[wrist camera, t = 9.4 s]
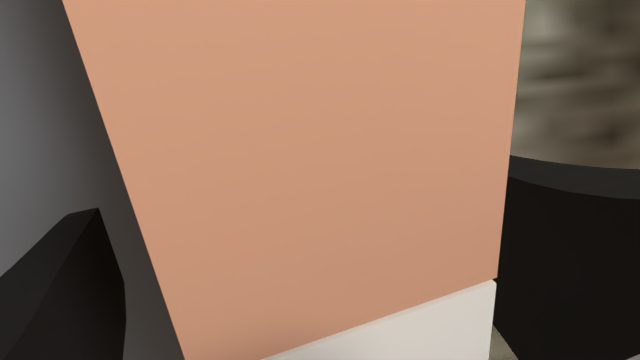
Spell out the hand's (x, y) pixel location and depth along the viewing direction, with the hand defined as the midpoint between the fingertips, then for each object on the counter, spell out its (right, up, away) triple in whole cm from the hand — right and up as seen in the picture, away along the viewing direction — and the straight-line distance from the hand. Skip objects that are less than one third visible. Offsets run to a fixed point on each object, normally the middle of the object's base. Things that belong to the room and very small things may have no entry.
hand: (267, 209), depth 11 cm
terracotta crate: (0, +2, -3) cm, 4 cm away
